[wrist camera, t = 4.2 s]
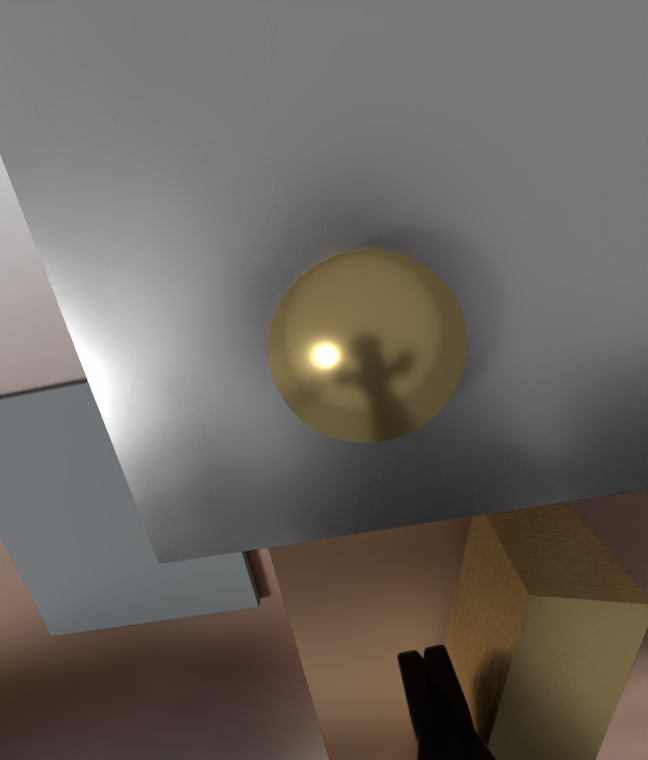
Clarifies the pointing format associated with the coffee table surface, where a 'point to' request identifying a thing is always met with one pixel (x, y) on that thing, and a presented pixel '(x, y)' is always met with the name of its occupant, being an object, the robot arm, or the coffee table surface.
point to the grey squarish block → (342, 252)
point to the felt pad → (93, 525)
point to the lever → (543, 633)
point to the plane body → (369, 626)
